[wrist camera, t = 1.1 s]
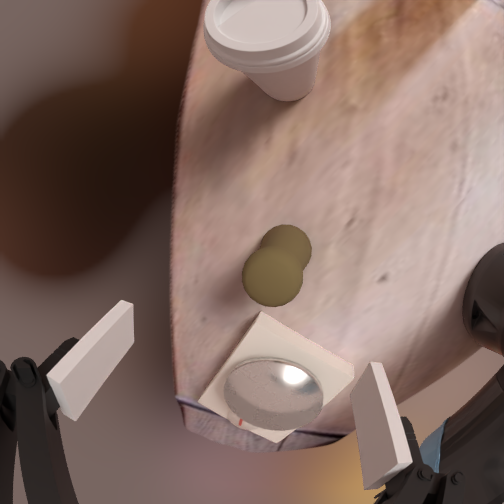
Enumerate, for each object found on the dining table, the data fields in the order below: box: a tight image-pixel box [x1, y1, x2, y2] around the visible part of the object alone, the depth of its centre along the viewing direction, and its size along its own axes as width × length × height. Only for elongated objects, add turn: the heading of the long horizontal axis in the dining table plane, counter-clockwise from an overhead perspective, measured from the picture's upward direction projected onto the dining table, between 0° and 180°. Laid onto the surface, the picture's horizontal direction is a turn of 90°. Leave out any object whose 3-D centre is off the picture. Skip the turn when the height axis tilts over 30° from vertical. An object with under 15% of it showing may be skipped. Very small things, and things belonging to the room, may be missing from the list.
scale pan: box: [224, 357, 324, 431], centre depth 32 cm, size 13×13×1 cm
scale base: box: [198, 311, 355, 443], centre depth 36 cm, size 15×19×4 cm
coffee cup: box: [204, 0, 331, 101], centre depth 20 cm, size 10×10×15 cm
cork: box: [242, 225, 312, 307], centre depth 27 cm, size 6×6×11 cm
